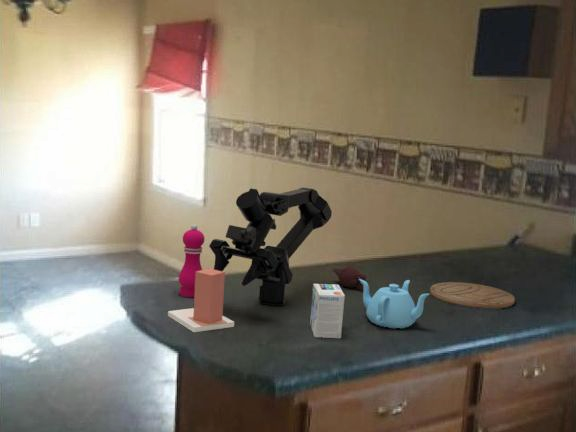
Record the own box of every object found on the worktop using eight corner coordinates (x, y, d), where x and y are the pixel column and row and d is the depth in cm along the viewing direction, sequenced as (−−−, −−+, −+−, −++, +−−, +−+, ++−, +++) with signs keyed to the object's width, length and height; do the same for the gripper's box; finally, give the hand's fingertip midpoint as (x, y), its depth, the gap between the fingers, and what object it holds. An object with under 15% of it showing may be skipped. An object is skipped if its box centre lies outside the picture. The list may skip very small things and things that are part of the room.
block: (206, 315, 181) (208, 268, 179) (222, 319, 178) (224, 272, 176) (193, 319, 177) (195, 271, 175) (209, 324, 174) (211, 275, 172)
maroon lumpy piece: (323, 262, 226) (356, 278, 215) (341, 255, 230) (374, 270, 219) (324, 282, 229) (357, 298, 218) (342, 274, 233) (375, 290, 222)
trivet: (528, 302, 223) (529, 296, 222) (489, 316, 204) (490, 309, 204) (456, 284, 239) (456, 278, 239) (414, 295, 221) (414, 289, 221)
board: (167, 315, 183) (168, 310, 183) (206, 311, 189) (206, 305, 189) (193, 332, 172) (194, 326, 171) (234, 326, 178) (234, 321, 178)
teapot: (372, 331, 182) (375, 292, 180) (354, 313, 196) (357, 276, 195) (427, 331, 185) (431, 292, 183) (405, 313, 200) (409, 277, 198)
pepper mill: (199, 299, 200) (202, 227, 196) (174, 296, 201) (177, 224, 198) (207, 292, 207) (210, 223, 203) (182, 289, 208) (186, 220, 205)
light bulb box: (309, 323, 185) (312, 282, 183) (335, 325, 185) (338, 283, 184) (314, 337, 174) (317, 294, 172) (342, 338, 175) (345, 295, 173)
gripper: (215, 208, 189) (185, 256, 182) (274, 218, 179) (245, 270, 172) (232, 233, 197) (204, 281, 189) (290, 245, 187) (263, 295, 180)
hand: (228, 281), depth 182 cm, fingers open, 9 cm apart
